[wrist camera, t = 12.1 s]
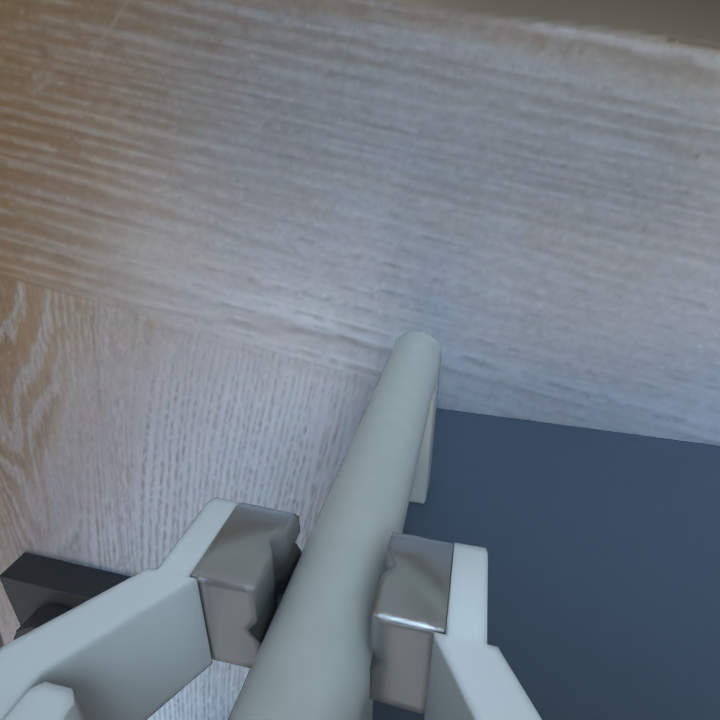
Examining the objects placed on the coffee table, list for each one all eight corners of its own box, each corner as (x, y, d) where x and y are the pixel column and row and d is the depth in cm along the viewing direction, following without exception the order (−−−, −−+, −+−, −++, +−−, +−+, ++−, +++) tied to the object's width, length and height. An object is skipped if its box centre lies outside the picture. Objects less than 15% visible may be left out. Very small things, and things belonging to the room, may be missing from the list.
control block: (59, 640, 41) (18, 688, 37) (24, 552, 36) (-26, 597, 33) (166, 669, 39) (133, 724, 35) (143, 580, 34) (103, 632, 31)
